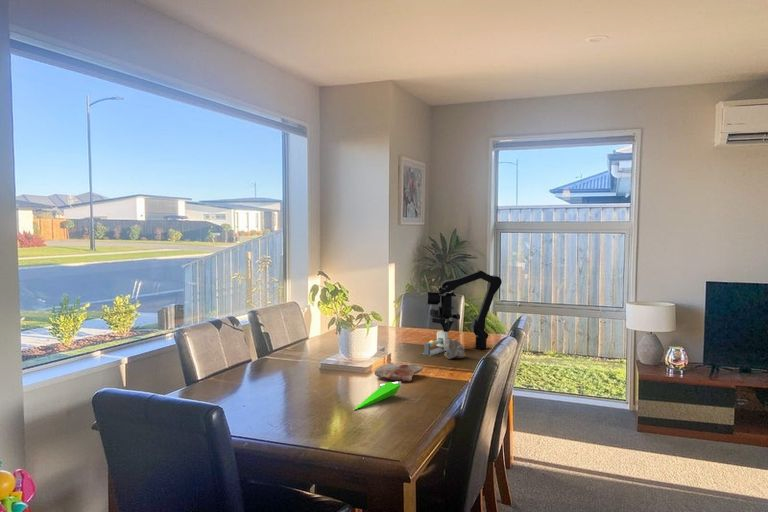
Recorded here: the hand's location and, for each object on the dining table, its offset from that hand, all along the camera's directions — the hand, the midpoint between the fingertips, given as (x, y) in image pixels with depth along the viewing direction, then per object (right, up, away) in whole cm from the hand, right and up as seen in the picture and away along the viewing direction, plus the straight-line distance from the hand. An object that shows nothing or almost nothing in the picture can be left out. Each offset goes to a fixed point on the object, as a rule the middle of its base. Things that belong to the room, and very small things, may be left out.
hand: (446, 334), depth 295 cm
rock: (+2, -9, -20) cm, 22 cm away
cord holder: (-5, -8, -7) cm, 12 cm away
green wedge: (-34, -13, -87) cm, 94 cm away
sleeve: (-2, -6, -3) cm, 6 cm away
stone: (-26, -11, -55) cm, 62 cm away
